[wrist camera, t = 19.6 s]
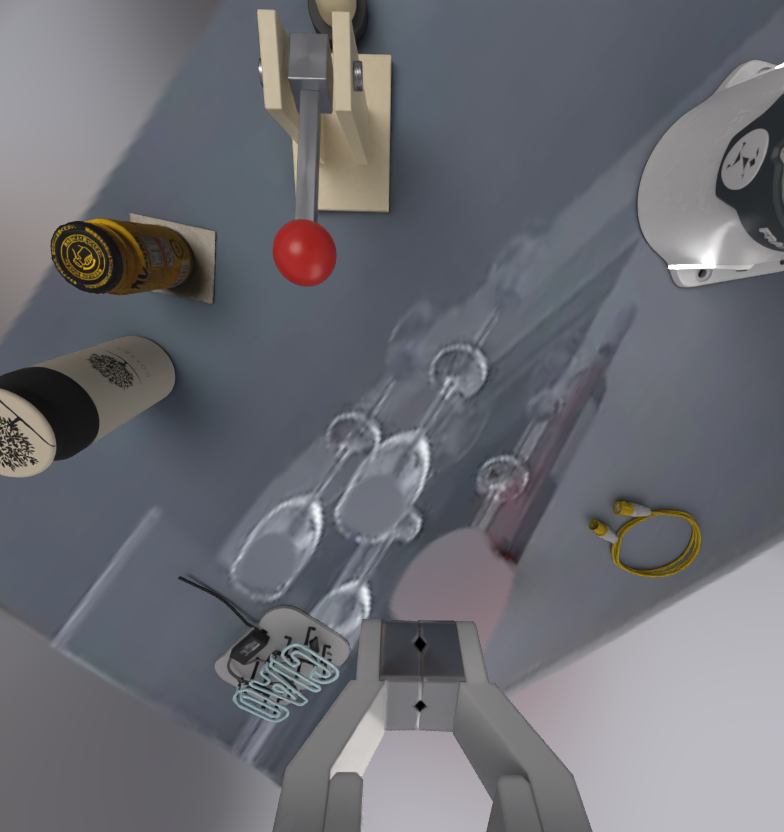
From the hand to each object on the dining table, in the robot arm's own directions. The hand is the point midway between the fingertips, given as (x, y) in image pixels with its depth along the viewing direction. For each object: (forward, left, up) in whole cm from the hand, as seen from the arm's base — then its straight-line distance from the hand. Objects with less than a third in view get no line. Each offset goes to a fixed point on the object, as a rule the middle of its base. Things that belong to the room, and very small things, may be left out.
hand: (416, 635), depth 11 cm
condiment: (+24, -8, -37) cm, 45 cm away
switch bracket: (+6, -19, -37) cm, 42 cm away
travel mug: (+30, +4, -37) cm, 48 cm away
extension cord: (-35, +26, -37) cm, 57 cm away
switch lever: (+6, -13, -21) cm, 26 cm away
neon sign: (+23, +48, -37) cm, 65 cm away
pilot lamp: (+6, -28, -37) cm, 47 cm away
